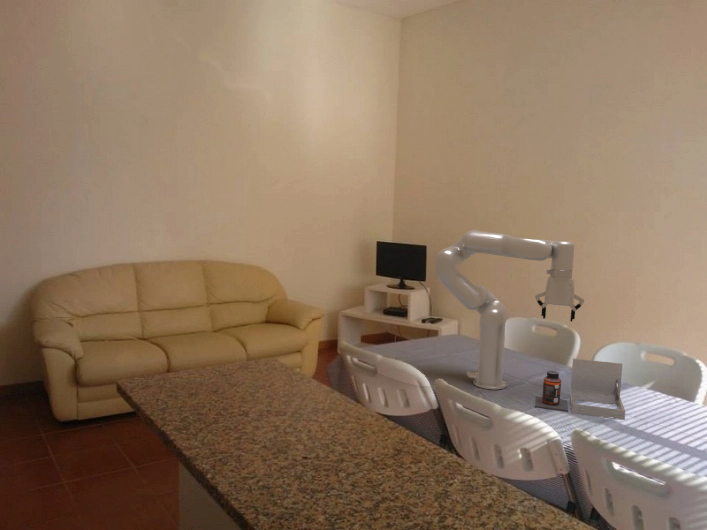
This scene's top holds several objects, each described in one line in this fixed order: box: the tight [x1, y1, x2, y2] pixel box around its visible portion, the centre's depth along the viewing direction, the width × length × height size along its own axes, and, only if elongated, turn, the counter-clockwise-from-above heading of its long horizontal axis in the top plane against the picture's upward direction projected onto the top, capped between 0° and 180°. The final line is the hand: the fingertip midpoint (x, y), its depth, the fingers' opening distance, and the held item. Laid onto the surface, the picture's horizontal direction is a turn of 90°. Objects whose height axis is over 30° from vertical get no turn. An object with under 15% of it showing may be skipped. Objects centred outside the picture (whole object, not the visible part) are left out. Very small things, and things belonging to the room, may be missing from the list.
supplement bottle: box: [541, 370, 562, 405], centre depth 203 cm, size 6×6×11 cm
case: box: [569, 358, 626, 421], centre depth 200 cm, size 17×17×15 cm
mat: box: [534, 395, 569, 413], centre depth 203 cm, size 11×11×1 cm
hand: (557, 319), depth 212 cm, fingers open, 9 cm apart
